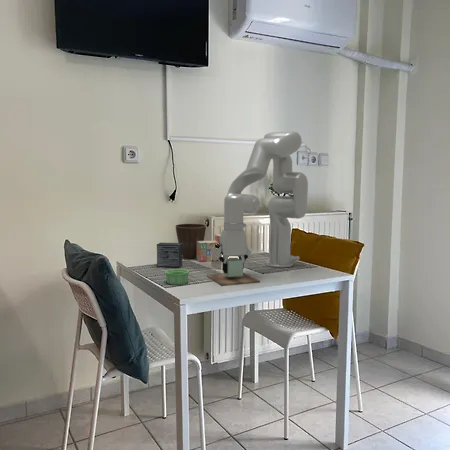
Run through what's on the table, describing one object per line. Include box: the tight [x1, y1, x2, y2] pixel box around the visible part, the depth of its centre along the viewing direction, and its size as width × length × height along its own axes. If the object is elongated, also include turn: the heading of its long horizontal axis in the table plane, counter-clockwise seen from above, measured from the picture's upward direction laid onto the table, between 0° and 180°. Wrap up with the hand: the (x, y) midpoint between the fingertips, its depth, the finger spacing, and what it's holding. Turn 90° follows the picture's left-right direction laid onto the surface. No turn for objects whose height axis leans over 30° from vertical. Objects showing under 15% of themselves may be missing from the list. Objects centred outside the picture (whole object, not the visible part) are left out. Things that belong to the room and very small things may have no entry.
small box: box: [156, 242, 183, 269], centre depth 203 cm, size 11×6×10 cm, turn 84°
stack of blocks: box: [196, 233, 221, 263], centre depth 219 cm, size 21×6×12 cm, turn 109°
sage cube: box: [222, 258, 244, 277], centre depth 180 cm, size 6×6×6 cm
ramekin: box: [165, 268, 190, 286], centre depth 175 cm, size 9×9×4 cm
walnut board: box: [206, 271, 261, 287], centre depth 180 cm, size 16×16×1 cm
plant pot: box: [175, 223, 207, 260], centre depth 223 cm, size 15×15×16 cm
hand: (233, 271), depth 180 cm, fingers closed on sage cube, 5 cm apart
